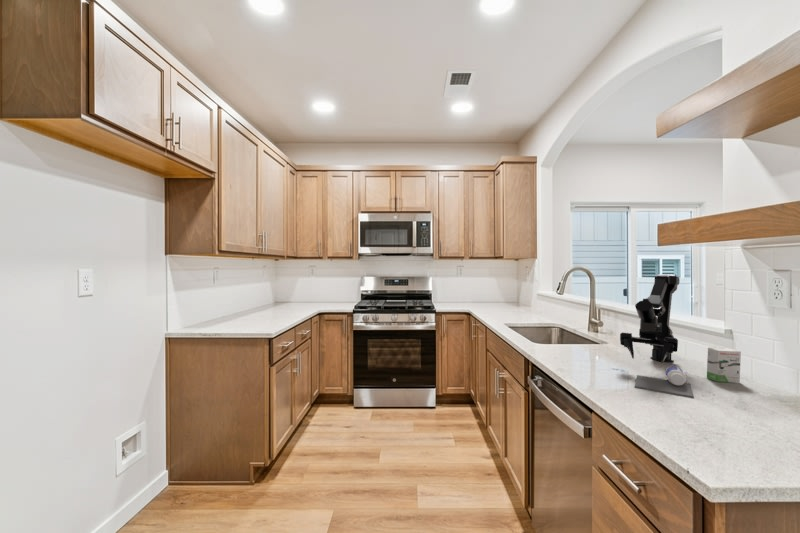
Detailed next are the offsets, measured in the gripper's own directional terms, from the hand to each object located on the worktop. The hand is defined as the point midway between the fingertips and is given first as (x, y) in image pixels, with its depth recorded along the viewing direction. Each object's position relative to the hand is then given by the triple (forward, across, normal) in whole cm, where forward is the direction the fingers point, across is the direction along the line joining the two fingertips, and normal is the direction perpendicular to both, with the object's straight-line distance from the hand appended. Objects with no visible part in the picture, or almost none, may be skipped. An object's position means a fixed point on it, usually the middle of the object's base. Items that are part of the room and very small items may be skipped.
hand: (647, 359), depth 140 cm
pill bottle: (+3, +8, +1) cm, 9 cm away
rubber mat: (+12, +5, -3) cm, 13 cm away
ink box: (-4, +23, +14) cm, 27 cm away
